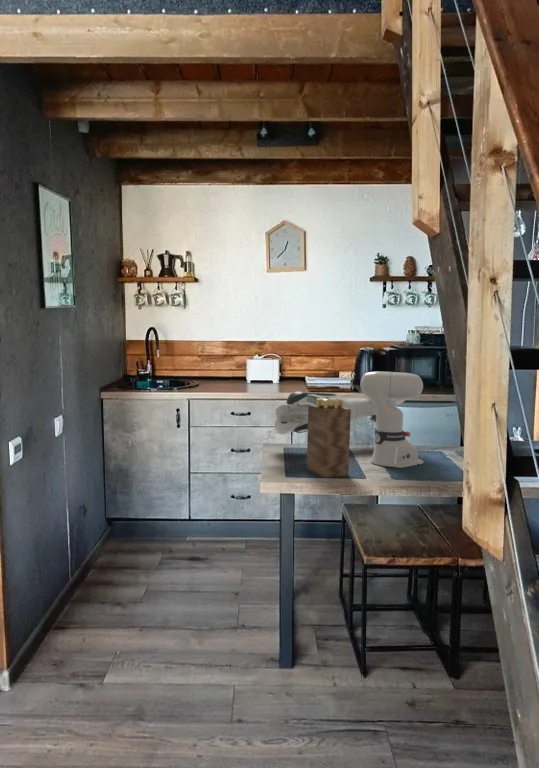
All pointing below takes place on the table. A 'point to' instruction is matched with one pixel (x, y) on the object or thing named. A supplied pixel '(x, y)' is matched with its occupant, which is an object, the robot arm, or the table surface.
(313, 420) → the walnut stand
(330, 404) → the gear axle
